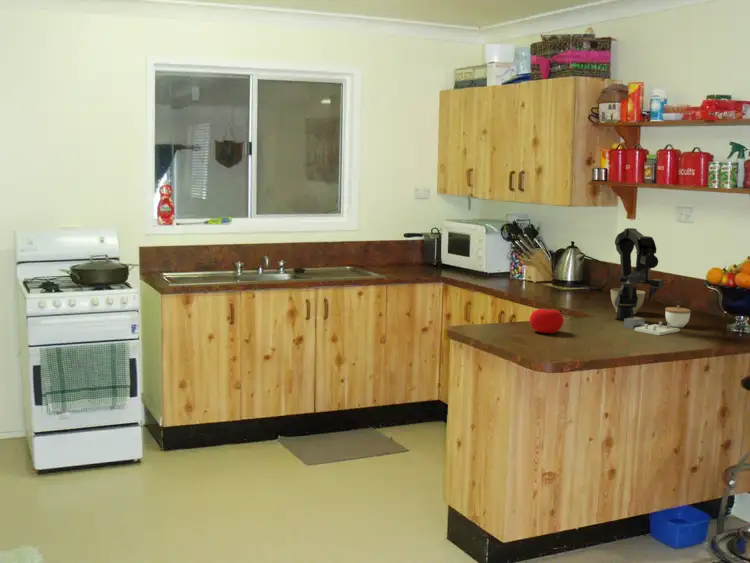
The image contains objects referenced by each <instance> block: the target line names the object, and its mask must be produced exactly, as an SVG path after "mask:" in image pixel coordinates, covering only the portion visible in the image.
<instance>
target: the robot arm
mask: <svg viewBox="0 0 750 563" xmlns="http://www.w3.org/2000/svg"><path fill="white" fill-rule="evenodd" d="M614 245H615V249H616V251H617V253H618V254H619V258H620V276H619V277H618V278H619V280H618V281H619V283H621V286H620V289H619V291H618V296H617V298H616V300H615V306H617V312H616V317H614V320H618V321H623V322H624V318H632V317H634V314H633V307H634V308H636V305H637V300H638V296H637V292H636V291H637V290H638V289H637V288H636V287H635V286H634V284H635V285H638V284H646V285H649V286H648V290H649V291H648V292H649V293H648V303H650V302H651V301H652V300H653V298H654V296H655V294H656V293H657V291H658V290H659V289H661V288H662V287H664V286H665V282H664V280H663V279H660V278H654V279H651V276H650V271H651V270H652V269H654V268H656V267H657V266H658V264H659V259H658V257H657V256H656V255H655V254H657V246H656V242H655V240H654V237H653V236H649V235H643V234H642V233H641V232H640V231H638V229H637V228H633V227H632V228H629V227H627V228H624V230H623V231H622V232H620V233H618V234H617V235H616V237H615V239H614ZM634 249H636V252H635V253H636V260H635V267H634V268H633V272H632V256H631V254H632V252H633V251H634Z"/></svg>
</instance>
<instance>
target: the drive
mask: <svg viewBox="0 0 750 563" xmlns="http://www.w3.org/2000/svg"><path fill="white" fill-rule="evenodd" d="M645 322H646V319H645V318H642V317H638V316H633V317H632V318H624V321H623V328H627V329H632V330H635V328H636V327H642V326H645Z"/></svg>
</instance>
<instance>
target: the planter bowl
mask: <svg viewBox="0 0 750 563" xmlns="http://www.w3.org/2000/svg"><path fill="white" fill-rule="evenodd" d="M620 288H621V287H620ZM620 288H619V287H618V288H611V289H610V299H611V302H612V305H613V307H614V309H615V313H617V306H615V300H616V298H617V296H618V291H619V289H620ZM636 292H637V296H638V300H637V305H636V308H634V307H633V315H636V314H637V312H638V310H639V309H640V308H641V307H642V305H643V303H644V300H645V295H646V292H645V291H643V290H638V289H637V291H636Z"/></svg>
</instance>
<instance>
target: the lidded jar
mask: <svg viewBox="0 0 750 563" xmlns="http://www.w3.org/2000/svg"><path fill="white" fill-rule="evenodd" d="M664 310H665V311H664V312H665V315H664V316H665V320H666V323H670V327H673V328H684V327H685V326H686V325H687V324H688V323H689V321H690V318H691V312H692V310H691V309H689V308H686V307H680V305H679V304H678V305H676V306H668V307H665V309H664Z"/></svg>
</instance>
